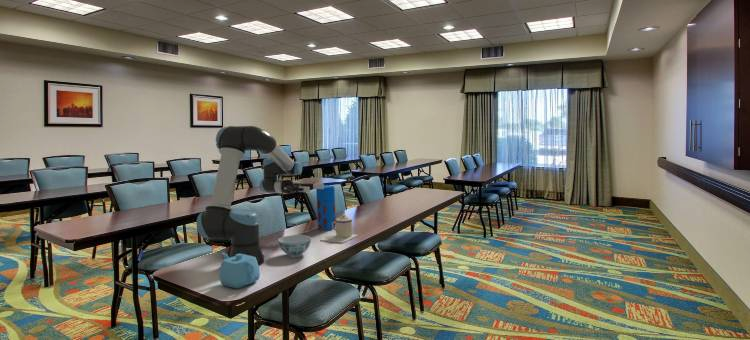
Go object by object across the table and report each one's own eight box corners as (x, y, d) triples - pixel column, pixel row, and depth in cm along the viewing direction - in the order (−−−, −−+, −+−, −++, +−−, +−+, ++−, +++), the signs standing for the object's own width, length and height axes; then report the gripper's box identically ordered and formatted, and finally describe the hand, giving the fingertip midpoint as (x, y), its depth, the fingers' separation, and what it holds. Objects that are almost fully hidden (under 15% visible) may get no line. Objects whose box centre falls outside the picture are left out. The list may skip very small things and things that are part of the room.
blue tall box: (329, 225, 253) (328, 184, 250) (339, 228, 244) (338, 186, 242) (314, 228, 246) (312, 186, 243) (323, 231, 237) (322, 188, 235)
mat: (343, 243, 211) (343, 242, 211) (320, 240, 217) (320, 239, 216) (357, 236, 225) (357, 234, 225) (335, 233, 231) (335, 232, 231)
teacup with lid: (355, 234, 226) (354, 213, 225) (347, 238, 218) (346, 216, 217) (336, 232, 231) (335, 212, 230) (327, 236, 223) (327, 215, 222)
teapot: (236, 274, 167) (235, 246, 166) (266, 282, 157) (265, 253, 156) (209, 283, 157) (207, 254, 156) (239, 293, 147) (238, 262, 146)
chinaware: (309, 259, 184) (308, 242, 184) (275, 260, 184) (274, 243, 184) (313, 250, 199) (313, 234, 199) (282, 250, 199) (282, 235, 199)
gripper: (298, 190, 241) (329, 191, 232) (269, 196, 219) (302, 198, 210) (297, 177, 241) (328, 178, 231) (269, 182, 218) (302, 183, 209)
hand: (316, 188), depth 221 cm, fingers open, 13 cm apart
